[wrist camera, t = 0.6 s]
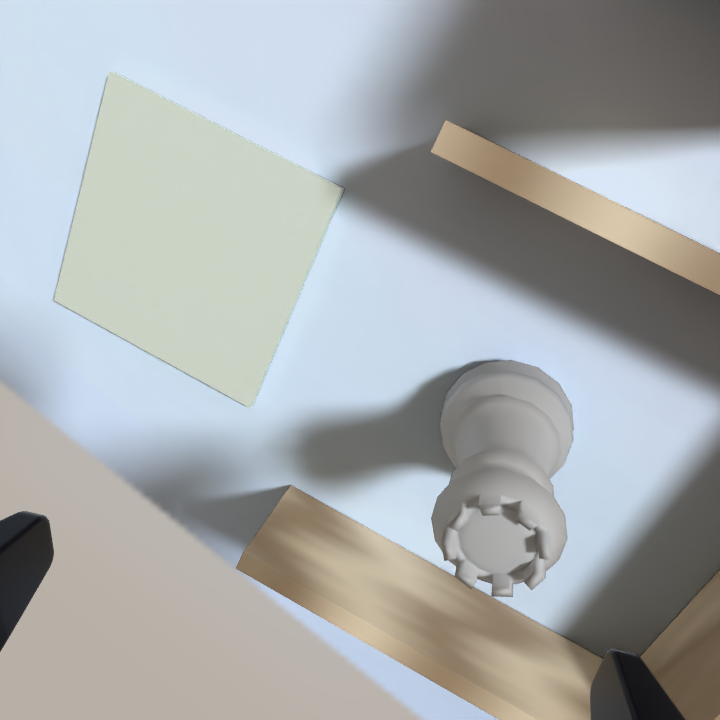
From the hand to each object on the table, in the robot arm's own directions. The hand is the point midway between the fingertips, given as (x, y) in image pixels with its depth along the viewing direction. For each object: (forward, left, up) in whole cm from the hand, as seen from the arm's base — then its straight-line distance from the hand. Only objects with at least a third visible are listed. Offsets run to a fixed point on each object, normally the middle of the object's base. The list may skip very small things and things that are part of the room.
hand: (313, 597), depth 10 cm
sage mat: (+10, +1, -13) cm, 16 cm away
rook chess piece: (-3, +1, -13) cm, 14 cm away
